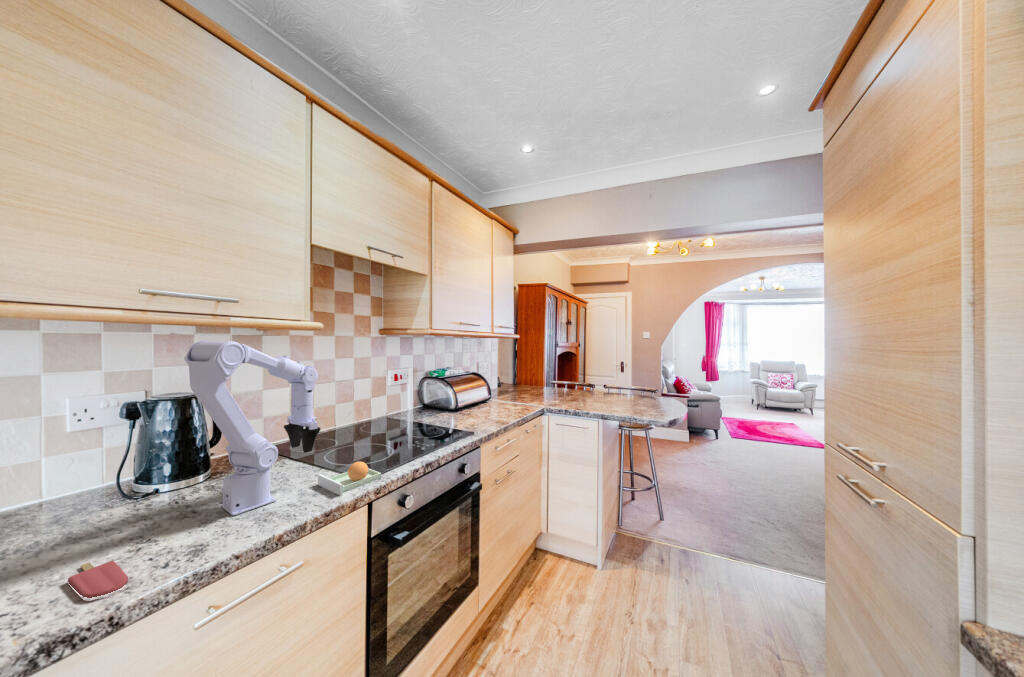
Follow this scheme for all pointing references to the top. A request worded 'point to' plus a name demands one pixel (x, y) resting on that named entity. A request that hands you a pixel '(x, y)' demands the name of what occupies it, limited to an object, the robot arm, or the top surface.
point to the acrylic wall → (330, 484)
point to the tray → (351, 484)
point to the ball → (357, 471)
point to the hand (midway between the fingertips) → (301, 449)
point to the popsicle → (98, 579)
